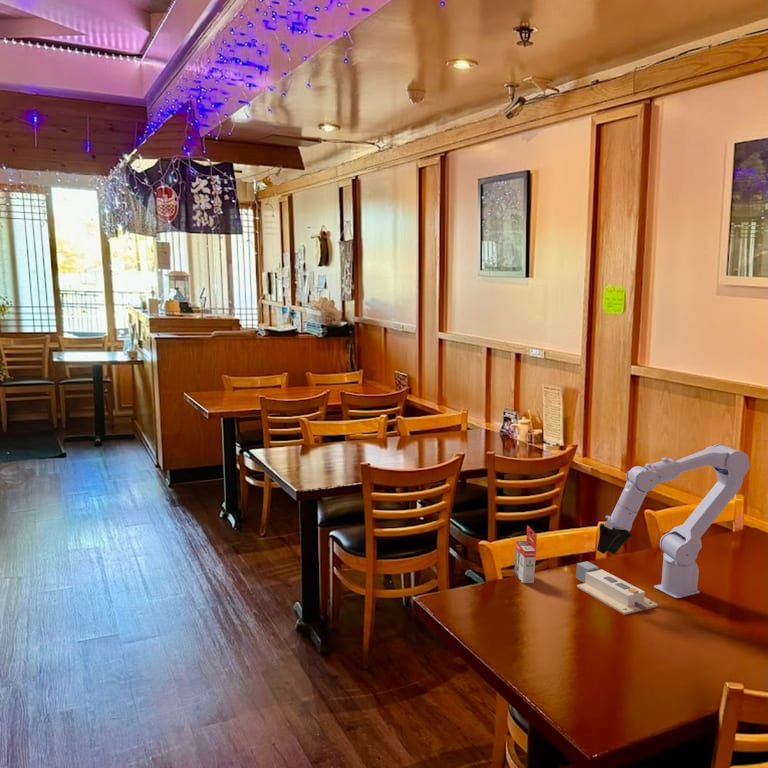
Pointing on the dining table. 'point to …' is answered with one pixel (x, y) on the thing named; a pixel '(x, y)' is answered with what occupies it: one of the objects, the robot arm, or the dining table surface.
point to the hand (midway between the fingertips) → (605, 552)
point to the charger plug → (584, 570)
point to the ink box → (526, 557)
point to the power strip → (615, 592)
